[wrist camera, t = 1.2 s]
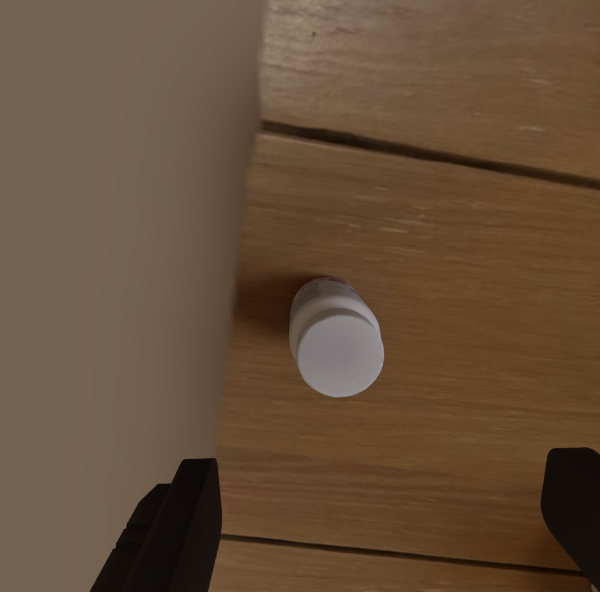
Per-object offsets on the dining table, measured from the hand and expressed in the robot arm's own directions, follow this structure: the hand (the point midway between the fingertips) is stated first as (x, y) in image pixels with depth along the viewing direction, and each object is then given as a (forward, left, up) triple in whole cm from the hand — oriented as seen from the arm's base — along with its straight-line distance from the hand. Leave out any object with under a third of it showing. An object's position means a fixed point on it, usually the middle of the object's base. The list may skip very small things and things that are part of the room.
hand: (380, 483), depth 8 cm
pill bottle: (0, 0, -16) cm, 16 cm away
